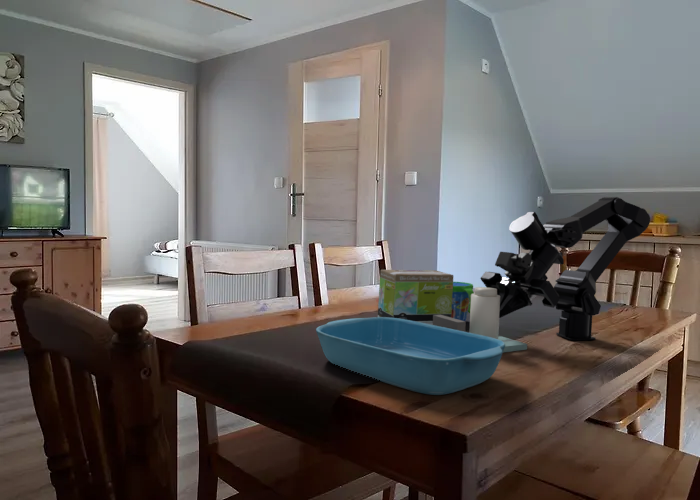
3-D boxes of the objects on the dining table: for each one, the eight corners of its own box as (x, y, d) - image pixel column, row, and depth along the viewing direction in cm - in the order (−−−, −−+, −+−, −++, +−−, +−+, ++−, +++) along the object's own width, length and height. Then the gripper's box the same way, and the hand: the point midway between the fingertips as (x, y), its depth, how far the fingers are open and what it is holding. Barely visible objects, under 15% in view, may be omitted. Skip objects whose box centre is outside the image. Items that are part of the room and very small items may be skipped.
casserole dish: (294, 359, 108) (294, 322, 107) (376, 343, 123) (377, 311, 122) (448, 414, 80) (450, 365, 80) (529, 385, 96) (531, 343, 95)
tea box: (392, 338, 127) (394, 273, 126) (376, 329, 136) (378, 268, 135) (451, 335, 132) (454, 273, 131) (432, 327, 141) (434, 268, 140)
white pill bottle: (484, 337, 123) (486, 286, 122) (504, 343, 118) (506, 290, 117) (463, 340, 120) (465, 287, 120) (482, 346, 115) (484, 291, 114)
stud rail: (500, 341, 127) (501, 309, 126) (526, 349, 120) (528, 316, 119) (431, 349, 118) (433, 315, 117) (456, 358, 111) (457, 322, 110)
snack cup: (418, 317, 154) (419, 280, 153) (449, 315, 158) (451, 279, 158) (452, 328, 140) (454, 288, 139) (486, 325, 144) (488, 286, 144)
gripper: (488, 236, 130) (448, 285, 125) (552, 241, 114) (509, 298, 109) (512, 269, 134) (474, 318, 130) (576, 279, 118) (536, 335, 113)
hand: (496, 316), depth 120 cm, fingers closed, pressing on white pill bottle
